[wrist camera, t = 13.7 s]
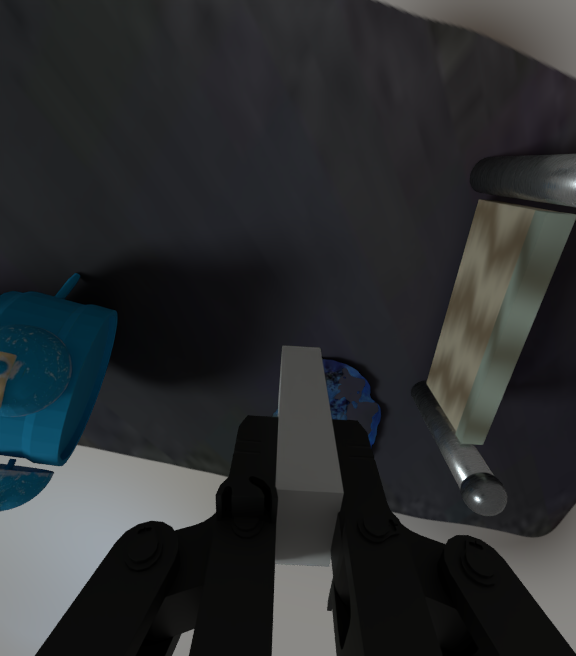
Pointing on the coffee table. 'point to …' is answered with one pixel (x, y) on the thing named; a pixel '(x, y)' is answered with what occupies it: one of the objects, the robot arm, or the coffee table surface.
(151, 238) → the coffee table surface
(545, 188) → the gate posts
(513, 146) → the coffee table surface
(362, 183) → the coffee table surface
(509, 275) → the gate
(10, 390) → the alarm clock
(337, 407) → the rock
